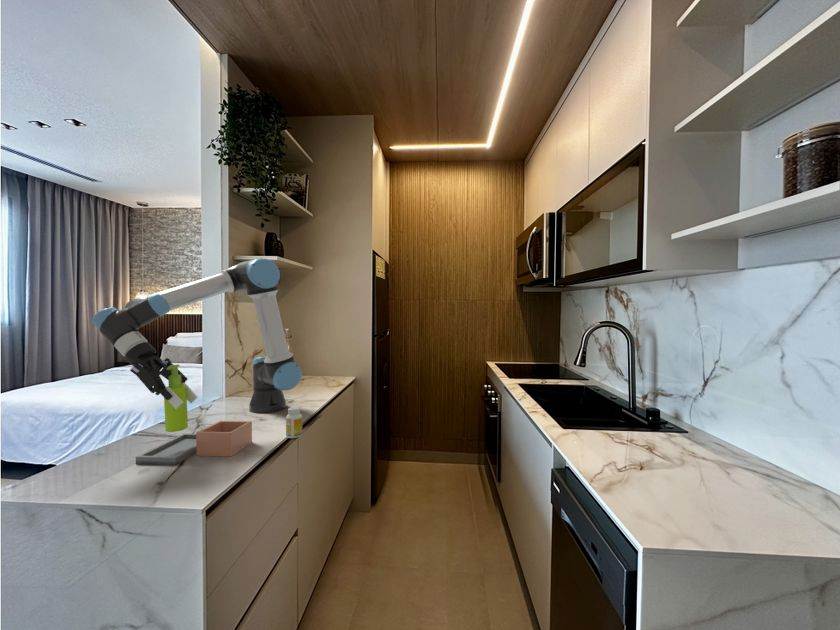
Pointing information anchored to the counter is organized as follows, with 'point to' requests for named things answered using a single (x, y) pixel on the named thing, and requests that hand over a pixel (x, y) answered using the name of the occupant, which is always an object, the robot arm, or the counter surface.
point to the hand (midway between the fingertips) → (187, 402)
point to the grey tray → (170, 451)
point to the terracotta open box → (224, 438)
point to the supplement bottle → (293, 423)
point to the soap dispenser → (178, 417)
